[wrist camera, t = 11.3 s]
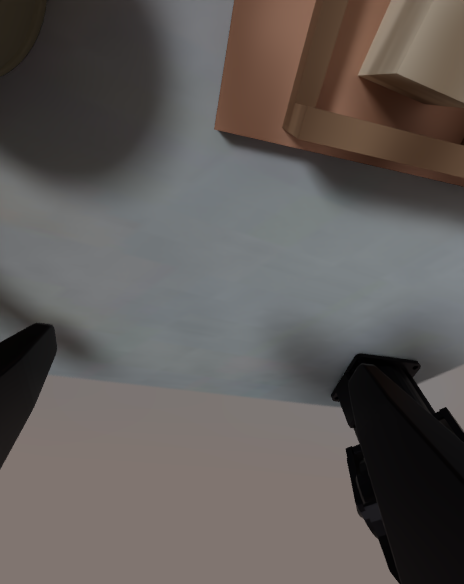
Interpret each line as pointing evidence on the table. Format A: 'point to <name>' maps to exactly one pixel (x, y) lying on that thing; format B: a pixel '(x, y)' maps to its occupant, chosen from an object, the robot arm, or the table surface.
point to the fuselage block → (420, 51)
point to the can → (18, 30)
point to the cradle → (329, 90)
